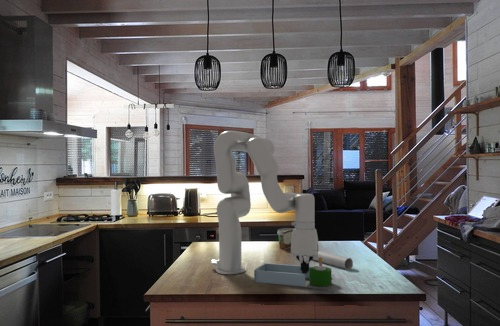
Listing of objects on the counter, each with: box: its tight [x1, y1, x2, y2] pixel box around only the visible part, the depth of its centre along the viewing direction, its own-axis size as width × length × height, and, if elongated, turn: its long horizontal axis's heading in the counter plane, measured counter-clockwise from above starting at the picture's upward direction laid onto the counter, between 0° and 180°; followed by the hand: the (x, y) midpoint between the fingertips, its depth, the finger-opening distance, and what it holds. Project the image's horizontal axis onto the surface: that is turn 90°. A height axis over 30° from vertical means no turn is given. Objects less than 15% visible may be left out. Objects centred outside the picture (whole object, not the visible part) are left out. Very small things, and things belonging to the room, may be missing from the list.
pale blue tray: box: [253, 262, 312, 288], centre depth 164 cm, size 20×13×4 cm, turn 70°
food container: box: [276, 227, 295, 251], centre depth 226 cm, size 12×6×10 cm, turn 144°
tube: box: [311, 250, 354, 271], centre depth 190 cm, size 5×5×25 cm
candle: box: [309, 257, 333, 287], centre depth 159 cm, size 8×8×10 cm
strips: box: [306, 276, 333, 291], centre depth 160 cm, size 7×15×1 cm, turn 160°
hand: (304, 272), depth 162 cm, fingers closed
